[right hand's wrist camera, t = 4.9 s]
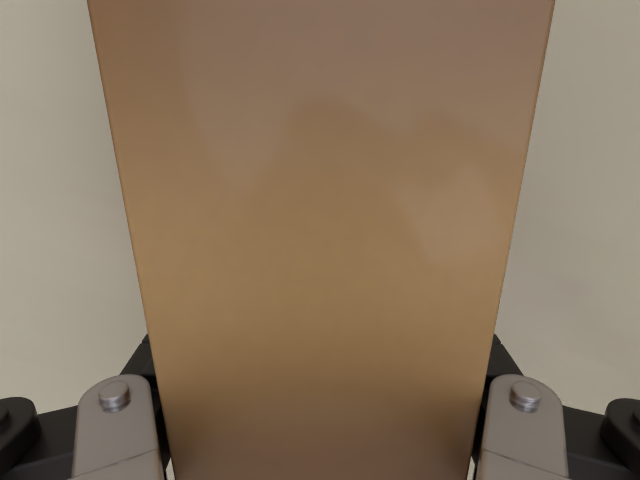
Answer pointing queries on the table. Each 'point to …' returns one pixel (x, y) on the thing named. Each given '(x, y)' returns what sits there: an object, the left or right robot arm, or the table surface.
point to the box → (321, 221)
